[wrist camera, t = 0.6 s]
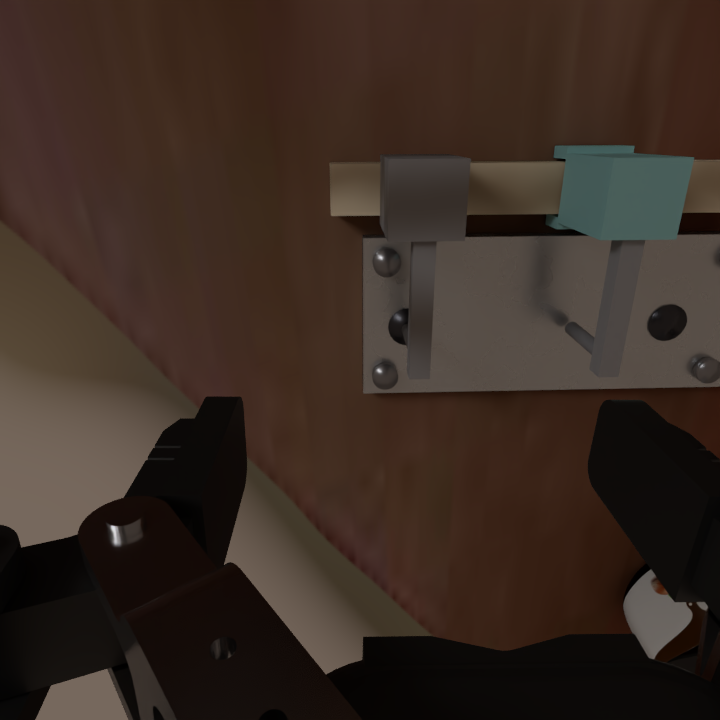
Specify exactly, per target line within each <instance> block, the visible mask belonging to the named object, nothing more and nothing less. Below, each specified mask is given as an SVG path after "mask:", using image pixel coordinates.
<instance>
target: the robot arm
mask: <svg viewBox="0 0 720 720" xmlns="http://www.w3.org/2000/svg"><path fill="white" fill-rule="evenodd" d="M719 460H720V459H719V458H717V457H716V456H715V455H714V454H713V453H712V452H710V451H706V447H705V446H703V445H702V444H701V443H700V442H699V441H698V440H697V439H695V438H694V437H693V436H692V435H691V434H689V433H687V432H685V431H684V430H682V429H680V428H678V427H676V426H674V425H672V424H670V423H668V422H667V421H666V420H665V419H664V418H662V417H661V416H660V415H659V414H658V413H657V412H656V411H654V410H653V409H652V408H651V407H650V406H649V405H648V404H647V403H645V402H644V401H642V400H606V401H604V402H603V403H602V405H601V407H600V410H599V414H598V418H597V423H596V427H595V432H594V436H593V441H592V445H591V450H590V455H589V459H588V474H589V479H590V482H591V485H592V487H593V488H594V490H595V491H596V493H597V494H598V496H599V497H600V498H601V500H602V501H603V503H604V504H605V505H606V507H607V508H608V510H609V511H610V512H611V514H612V515H613V517H614V518H615V519H616V521H617V522H618V524H619V525H620V526H621V528H622V529H623V531H624V532H625V533H626V535H627V536H628V538H629V539H630V540H631V542H632V543H633V545H634V546H635V548H636V549H637V550H638V552H639V553H640V555H641V556H642V557H643V559H644V560H645V562H646V563H647V564H648V566H649V567H650V569H651V570H652V571H653V573H654V574H655V576H656V577H657V578H658V580H659V581H660V583H661V584H662V585H663V587H664V588H665V590H666V591H667V592H668V594H669V595H670V597H671V598H672V599H673V601H674V602H705V603H706V605H707V606H708V608H707V611H706V613H705V616H704V619H703V622H702V628H701V635H700V641H699V648H698V655H697V662H696V669H695V674H694V673H692V672H690V671H687V670H685V669H682V668H680V667H677V666H675V665H672V664H669V663H665V662H662V661H659V660H656V659H651V658H649V657H648V656H647V654H646V652H645V651H644V649H643V647H642V646H641V644H640V642H639V640H638V639H637V637H636V635H635V634H572V635H565V636H562V637H558V638H554V639H551V640H547V641H543V642H540V643H536V644H532V645H529V646H525V647H522V648H518V649H514V650H510V651H500V650H494V649H490V648H485V647H480V646H475V645H471V644H466V643H461V642H456V641H452V640H447V639H442V638H437V637H433V636H405V637H403V636H402V637H401V636H399V637H363V657H362V658H363V659H362V660H361V661H358V662H354V663H351V664H348V665H345V666H343V667H341V668H338V669H336V670H334V671H332V672H330V673H328V674H327V675H326V674H325V673H324V672H323V670H322V669H321V668H320V667H319V666H318V664H317V663H316V662H315V661H314V659H313V658H312V657H311V656H310V655H309V653H308V652H307V651H306V649H305V648H304V647H303V646H302V645H301V643H300V642H299V641H298V640H297V639H296V637H295V636H294V635H293V633H292V632H291V631H290V630H289V628H288V627H287V626H286V625H285V623H284V622H283V621H282V620H281V619H280V617H279V616H278V615H277V614H276V613H275V611H274V610H273V609H272V607H271V606H270V605H269V604H268V602H267V601H266V600H265V599H264V598H263V596H262V595H261V594H260V593H259V591H258V590H257V589H256V588H255V586H254V585H253V584H252V583H251V581H250V580H249V579H248V578H247V577H246V575H245V574H244V573H243V572H242V570H241V569H240V568H239V567H238V566H237V565H235V564H234V563H231V562H230V563H227V564H225V565H224V562H225V558H226V555H227V551H228V547H229V544H230V540H231V536H232V532H233V528H234V525H235V521H236V518H237V514H238V510H239V506H240V503H241V499H242V495H243V492H244V488H245V483H246V473H247V453H246V438H245V423H244V408H243V401H242V398H241V397H206V398H205V399H204V401H203V403H202V405H201V407H200V409H199V411H198V413H197V415H196V417H195V419H179V420H178V421H177V422H175V423H174V424H172V425H171V426H170V427H168V428H167V429H165V430H164V431H163V432H162V434H161V436H160V438H159V439H158V441H157V443H156V444H155V448H153V449H152V451H151V453H150V454H149V456H148V460H146V461H145V463H144V464H143V466H142V468H141V470H140V471H139V473H138V475H137V476H136V478H135V480H134V481H133V483H132V485H131V486H130V488H129V490H128V492H127V493H126V495H125V496H124V498H121V499H118V500H115V501H112V502H110V503H107V504H105V505H103V506H101V507H99V508H98V509H96V510H95V511H93V512H92V513H91V514H90V515H89V516H87V518H86V519H85V520H84V521H83V523H82V524H81V526H80V528H79V531H78V534H77V535H74V536H72V537H68V538H64V539H59V540H55V541H50V542H46V543H41V544H36V545H32V546H27V547H22V548H21V545H20V542H19V538H18V535H17V533H16V532H15V531H14V530H13V529H11V528H9V527H7V526H4V525H0V720H35V719H36V717H37V715H38V713H39V710H40V708H41V706H42V704H43V701H44V699H45V697H46V695H47V693H48V691H49V689H50V686H51V685H53V684H57V683H61V682H64V681H67V680H71V679H74V678H77V677H80V676H84V675H87V674H90V673H94V672H97V671H101V670H104V669H108V672H109V674H110V676H111V679H112V681H113V684H114V686H115V688H116V691H117V693H118V696H119V698H120V700H121V703H122V705H123V708H124V710H125V712H126V715H127V717H128V720H720V461H719Z"/></svg>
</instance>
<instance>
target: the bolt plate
mask: <svg viewBox="0 0 720 720" xmlns="http://www.w3.org/2000/svg"><path fill="white" fill-rule="evenodd" d="M611 241H612V240H598V239H596V238H593V237H591V236H588V235H586V234H584V233H499V234H465V241H437V245H436V265H435V285H434V305H433V325H432V345H431V365H430V379H409V377H408V374H407V346H406V343H405V340H404V337H403V333H402V327H403V325H404V324H407V323H408V318H409V286H410V255H411V242H388V241H387V239H386V237H385V235H362V263H363V393H409V392H462V391H515V390H568V389H620V388H673V387H720V231H695V232H678V234H677V239H676V240H645V245H644V250H643V255H642V260H641V265H640V270H639V275H638V280H637V285H636V290H635V296H634V301H633V306H632V311H631V316H630V321H629V326H628V331H627V336H626V341H625V346H624V351H623V356H622V361H621V366H620V371H619V376H618V377H597V376H596V375H595V374H594V373H593V372H592V371H591V370H590V369H589V368H590V362H591V356H592V355H591V354H590V353H589V352H588V351H586V350H585V349H584V348H583V347H582V346H581V345H580V344H579V343H577V342H576V341H575V340H574V339H573V338H572V337H571V336H569V335H568V334H567V333H566V332H565V326H566V325H567V324H568V323H569V322H576V323H577V324H578V325H579V326H581V327H582V328H583V329H584V330H586V331H587V332H588V333H589V334H591V335H592V336H593V337H594V338H595V333H596V328H597V322H598V316H599V310H600V305H601V299H602V293H603V287H604V282H605V276H606V270H607V264H608V259H609V253H610V247H611Z"/></svg>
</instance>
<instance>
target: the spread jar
mask: <svg viewBox="0 0 720 720" xmlns="http://www.w3.org/2000/svg"><path fill="white" fill-rule="evenodd" d="M707 608H708V606H707V605H706V603H705V602H674V601H673V599H672V598H671V597H670V595H669V594H668V592H667V591H666V590H665V588H664V587H663V585H662V584H661V583H660V581H659V580H658V578H657V577H656V576H655V574H654V573H653V571H652V570H651V569H650V567H649V566H648V564H645V565H644V566H643V567H642V568H641V569H640V570H639V571H638V572H637V573H636V574H635V575H634V577H633V578H632V580H631V581H630V583H629V585H628V587H627V589H626V592H625V595H624V602H623V609H624V613H625V617H626V620H627V622H628V624H629V627H630V629H631V631H632V633H633V634H635V635H636V637H637V639H638V640H639V642H640V644H641V646H642V647H643V649H644V651H645V652H646V654H647V656H648V657H649V658H651V659H656V660H659V661H662V662H665V663H669V664H672V665H675V666H677V667H680V668H682V669H685V670H687V671H690V672H692V673H694V674H695V669H696V662H697V655H698V648H699V641H700V635H701V628H702V622H703V619H704V616H705V613H706V611H707Z"/></svg>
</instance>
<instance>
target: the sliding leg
mask: <svg viewBox="0 0 720 720" xmlns="http://www.w3.org/2000/svg"><path fill="white" fill-rule="evenodd" d="M634 147H635V146H623V145H581V146H555V151H554V158H561V159H566V162H565V170H564V177H563V185H562V192H561V200H560V207H559V214H547V215H546V223H545V224H546V225H548V226H550V227H552V228H555V229H574V230H576V231H579V232H581V233H584V234H586V235H588V236H591V237H593V238H596V239H598V240H612V241H611V247H610V253H609V259H608V264H607V270H606V276H605V282H604V287H603V293H602V299H601V305H600V310H599V316H598V322H597V328H596V333H595V338H594V337H593V336H592V335H591V334H589V333H588V332H587V331H586V330H584V329H583V328H582V327H581V326H579V325H578V324H577V323H576V322H569V323H568V324H567V325H566V326H565V332H566V333H567V334H568V335H569V336H571V337H572V338H573V339H574V340H575V341H576V342H577V343H579V344H580V345H581V346H582V347H583V348H584V349H585V350H586V351H588V352H589V353H590V354H591V355H592V356H591V362H590V368H589V369H590V370H591V371H592V372H593V373H594V374H595V375H596V376H597V377H618V376H619V371H620V366H621V361H622V356H623V351H624V346H625V341H626V336H627V331H628V326H629V321H630V316H631V311H632V306H633V301H634V296H635V290H636V285H637V280H638V275H639V270H640V265H641V260H642V255H643V250H644V245H645V240H676V239H677V234H678V230H679V225H680V221H681V216H682V212H683V207H684V202H685V198H686V193H687V189H688V184H689V180H690V175H691V171H692V166H693V161H694V157H681V156H667V155H652V154H637V153H633V152H634Z"/></svg>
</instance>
